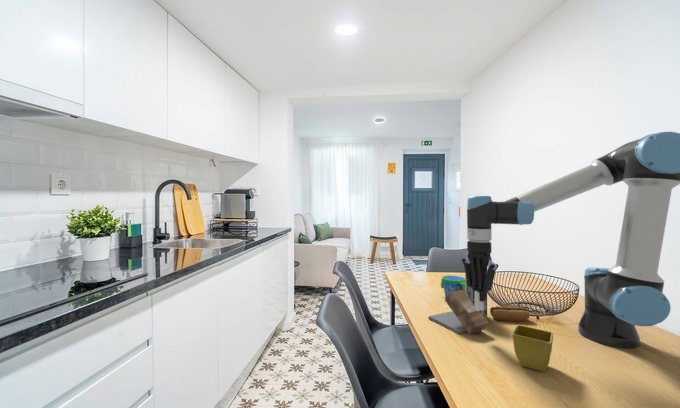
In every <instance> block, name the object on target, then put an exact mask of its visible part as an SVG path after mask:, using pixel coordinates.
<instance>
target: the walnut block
mask: <svg viewBox="0 0 680 408" xmlns="http://www.w3.org/2000/svg"><path fill="white" fill-rule="evenodd" d="M444 302H446V305H448V308H450V309H451V311H452V312H454V314H455V315H456V317H457V318H458V319H459V321H460V322H461V324H462V325H463V326H464V328H465V329H466V331H467V332H466V333H467V334H468V335H471V334H475V333H479V332H482V331H483V330H484V329H485V328H486V327H487V326H488V325H489V323H490V322H489V321H488V319H487V320H486V319H485V317H484V316H483V315H482V314H481V312H480V311H477V310H475V305H474V303H473V302H472V301H471V300H470V298H469V297H468V296H467V295H466V293H465V292H464V291H463V290H457V291H452V292H450V293H449V295H448V296H447V297H446V298H445V299H444Z"/></svg>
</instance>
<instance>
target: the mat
mask: <svg viewBox="0 0 680 408" xmlns="http://www.w3.org/2000/svg"><path fill="white" fill-rule="evenodd" d="M428 320H430V321H432V322H434V323H436V324H438V325H440V326H443V327H444V328H445V329H446V328H447V329H448V330H450V331H452V332H454V333H456V334H459V335H461V334H466V333H468V332H467V331H466V329H465V328H464V326H463V325H462V324H461V322H460V321H459V319H458V318H457V317H456V315H455V314H454V312H453V311H452V310H451V311H447V312H442V313H437V314H432V315H428Z"/></svg>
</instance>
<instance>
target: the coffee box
mask: <svg viewBox="0 0 680 408" xmlns="http://www.w3.org/2000/svg"><path fill="white" fill-rule="evenodd" d="M464 278H465V293H466V295H467V296H468V297H469V298H470V300H471V301H472V302H473V303H474V305H475V299H473V289H472V288H471V287H469V286H468V284H467V278H466V273H465V274H464ZM480 312H481V314H482V315H483V316H484V317H485V319H486V320H487V321H488V291H486V293H485V301H484V310H481V311H480Z"/></svg>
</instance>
